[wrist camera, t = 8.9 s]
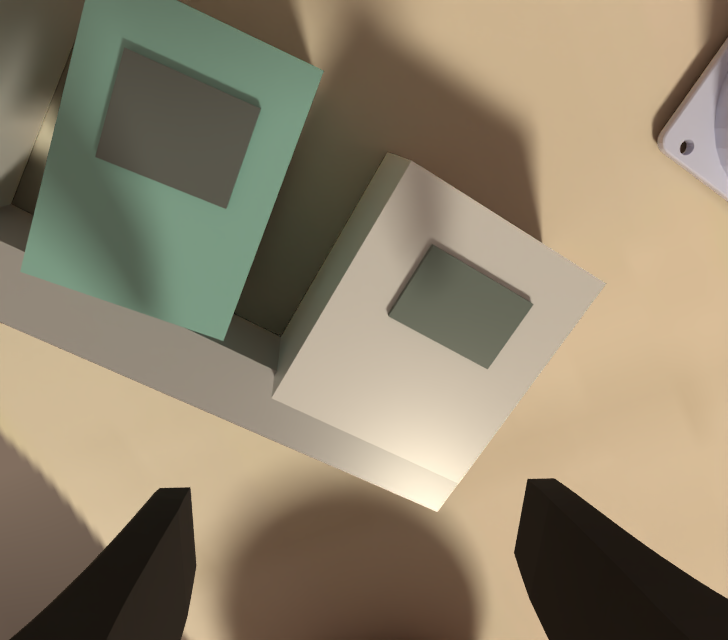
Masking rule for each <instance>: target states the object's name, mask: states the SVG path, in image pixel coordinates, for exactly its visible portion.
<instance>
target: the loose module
mask: <svg viewBox="0 0 728 640" xmlns="http://www.w3.org/2000/svg"><path fill="white" fill-rule="evenodd" d="M323 72H324V71H323V70H321V69H319V68H317V67H315V66H313V65H311V64H309V63H307V62H304V61H302V60H300V59H298V58H296V57H294V56H292V55H290V54H288V53H286V52H284V51H282V50H279V49H277V48H275V47H273V46H271V45H269V44H267V43H265V42H263V41H261V40H259V39H256V38H254V37H252V36H250V35H248V34H246V33H244V32H242V31H240V30H238V29H236V28H234V27H231V26H229V25H227V24H225V23H223V22H221V21H219V20H217V19H215V18H213V17H211V16H209V15H206V14H204V13H202V12H200V11H198V10H196V9H194V8H192V7H190V6H188V5H186V4H183V3H181V2H179V1H177V0H85V3H84V7H83V11H82V15H81V19H80V24H79V28H78V32H77V36H76V40H75V44H74V49H73V53H72V57H71V61H70V65H69V70H68V74H67V78H66V82H65V86H64V90H63V95H62V99H61V103H60V107H59V111H58V116H57V120H56V124H55V128H54V132H53V136H52V141H51V145H50V149H49V153H48V157H47V162H46V166H45V170H44V174H43V178H42V182H41V187H40V191H39V195H38V199H37V203H36V208H35V212H34V216H33V220H32V224H31V228H30V233H29V237H28V241H27V245H26V249H25V254H24V258H23V262H22V266H21V270H20V272H22V273H25V274H28V275H31V276H34V277H37V278H40V279H43V280H46V281H49V282H52V283H54V284H57V285H60V286H63V287H66V288H69V289H72V290H75V291H78V292H81V293H84V294H87V295H90V296H93V297H96V298H99V299H101V300H104V301H107V302H110V303H113V304H116V305H119V306H122V307H125V308H128V309H131V310H134V311H137V312H140V313H143V314H146V315H149V316H151V317H154V318H157V319H160V320H163V321H166V322H169V323H172V324H175V325H178V326H181V327H184V328H187V329H190V330H193V331H196V332H198V333H201V334H204V335H207V336H210V337H213V338H216V339H219V340H222V341H224V338H225V335H226V332H227V330H228V327H229V324H230V322H231V319H232V316H233V314H234V311H235V308H236V306H237V303H238V300H239V298H240V295H241V292H242V290H243V287H244V284H245V282H246V279H247V276H248V273H249V271H250V268H251V265H252V263H253V260H254V257H255V255H256V252H257V249H258V247H259V244H260V241H261V239H262V236H263V233H264V231H265V228H266V225H267V222H268V220H269V217H270V214H271V212H272V209H273V206H274V204H275V201H276V198H277V196H278V193H279V190H280V188H281V185H282V182H283V179H284V177H285V174H286V171H287V169H288V166H289V163H290V161H291V158H292V155H293V153H294V150H295V147H296V145H297V142H298V139H299V136H300V134H301V131H302V128H303V126H304V123H305V120H306V118H307V115H308V112H309V110H310V107H311V104H312V102H313V99H314V96H315V93H316V91H317V88H318V85H319V83H320V80H321V77H322V75H323Z"/></svg>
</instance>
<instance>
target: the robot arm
mask: <svg viewBox="0 0 728 640" xmlns="http://www.w3.org/2000/svg"><path fill="white" fill-rule="evenodd" d="M684 141H686V143H687V148H686V150H685V151H684V152H683V153H681V152H680V146H681V144H682V143H683V142H684ZM657 144H658V148H659V150H660V151H661V152H662V153H663V154H665V155H666V156H667V157H669V158H670V159H671V160H673V161H674V162H675V163H677V164H678V165H680V166H681V167H682V168H684V169H685V170H686V171H688V172H689V173H690V174H692V175H693V176H694V177H696V178H697V179H698V180H700V181H701V182H702V183H704V184H705V185H706V186H708V187H709V188H710V189H712V190H713V191H714V192H716V193H717V194H718V195H720V196H721V197H722V198H724V199H725V200H726V201H728V38H727V39H726V41H725V42H724V43H723V45H722V46H721V48H720V49H719V50H718V52H717V53H716V55H715V56H714V58H713V59H712V60H711V62H710V63H709V65H708V66H707V67H706V69H705V70H704V72H703V73H702V74H701V76H700V77H699V79H698V80H697V81H696V83H695V84H694V86H693V87H692V89H691V90H690V91H689V93H688V94H687V96H686V97H685V98H684V100H683V101H682V103H681V104H680V105H679V107H678V108H677V110H676V111H675V112H674V114H673V115H672V117H671V118H670V120H669V121H668V122H667V124H666V125H665V127H664V128H663V129H662V131H661V132H660V134H659V136H658V141H657ZM514 554H515V557H516V560H517V563H518V567H519V570H520V573H521V576H522V579H523V582H524V584H525V587H526V590H527V593H528V596H529V599H530V601H531V603H532V605H533V607H534V609H535V612H536V614H537V616H538V618H539V620H540V622H541V624H542V626H543V628H544V631H545V633H546V635H547V637H548V639H549V640H728V599H727V598H726V597H724V596H722V595H720V594H719V593H717V592H715V591H714V590H712V589H710V588H709V587H707V586H706V585H704V584H702V583H701V582H699V581H698V580H696V579H694V578H693V577H691V576H690V575H688V574H687V573H685V572H684V571H682V570H681V569H679V568H678V567H676V566H675V565H673V564H672V563H670V562H669V561H667V560H666V559H664V558H663V557H661V556H660V555H659V554H657V553H656V552H654V551H653V550H651V549H650V548H649V547H647V546H646V545H644V544H643V543H642V542H640V541H639V540H637V539H636V538H635V537H633V536H632V535H630V534H629V533H628V532H626V531H625V530H624V529H622V528H621V527H620V526H618V525H617V524H616V523H614V522H613V521H612V520H610V519H609V518H607V517H606V516H605V515H604V514H602V513H601V512H600V511H598V510H597V509H596V508H594V507H593V506H592V505H590V504H589V503H588V502H586V501H585V500H584V499H582V498H581V497H580V496H578V495H577V494H576V493H574V492H573V491H571V490H570V489H569V488H567V487H566V486H565V485H563V484H562V483H560V482H559V481H557V480H556V479H554V478H551V479H528V480H527V485H526V491H525V496H524V501H523V507H522V512H521V518H520V523H519V529H518V534H517V540H516V545H515V551H514ZM195 571H196V555H195V542H194V529H193V516H192V502H191V489H190V487H189V488H159V489H158V490H157V491H156V492H155V493H154V494H153V495H152V496H151V497H150V499H149V500H148V501H147V502H146V503H145V504H144V506H143V507H142V508H141V509H140V510H139V511H138V513H137V514H136V515H135V516H134V517H133V518H132V519H131V521H130V522H129V523H128V524H127V525H126V526H125V527H124V528H123V529H122V531H121V532H120V533H119V534H118V535H117V536H116V537H115V538H114V539H113V540H112V542H111V543H110V544H109V545H108V546H107V547H106V548H105V549H104V550H103V551H102V552H101V553H100V554H99V555H98V556H97V558H96V559H95V560H94V561H93V562H92V563H91V564H90V565H89V566H88V567H87V568H86V569H85V570H84V571H83V572H82V573H81V574H80V575H79V576H78V577H77V578H76V579H75V580H74V581H73V582H72V583H71V584H70V585H69V586H68V587H67V588H66V589H65V590H64V591H63V592H62V593H61V594H59V595H58V596H57V598H56V599H54V600H53V602H51V603H50V604H49V605H48V606H47V607H46V608H45V609H44V610H43V611H42V612H41V613H39V614H38V615H37V616H36V617H35V618H34V619H33V620H32V621H31V622H29V623H28V624H27V625H26V626H25V627H24V628H22V629H21V630H20V631H19V632H18V633H17V634H16V635H14V636H13V637H12V638H11V639H10V640H181V637H182V634H183V630H184V627H185V623H186V620H187V616H188V610H189V605H190V600H191V594H192V588H193V583H194V577H195Z"/></svg>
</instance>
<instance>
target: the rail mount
mask: <svg viewBox="0 0 728 640" xmlns="http://www.w3.org/2000/svg"><path fill="white" fill-rule="evenodd" d="M84 3H85V0H0V322H1V323H3V324H5V325H7V326H10V327H12V328H14V329H17V330H19V331H21V332H24V333H26V334H28V335H31V336H33V337H35V338H37V339H40V340H42V341H44V342H47V343H49V344H51V345H54V346H56V347H58V348H60V349H63V350H65V351H67V352H70V353H72V354H74V355H77V356H79V357H81V358H84V359H86V360H88V361H90V362H93V363H95V364H97V365H100V366H102V367H104V368H107V369H109V370H111V371H114V372H116V373H118V374H120V375H123V376H125V377H127V378H130V379H132V380H134V381H137V382H139V383H141V384H143V385H146V386H148V387H150V388H153V389H155V390H157V391H160V392H162V393H164V394H167V395H169V396H171V397H173V398H176V399H178V400H180V401H183V402H185V403H187V404H190V405H192V406H194V407H197V408H199V409H201V410H203V411H206V412H208V413H210V414H213V415H215V416H217V417H220V418H222V419H224V420H227V421H229V422H231V423H233V424H236V425H238V426H240V427H243V428H245V429H247V430H250V431H252V432H254V433H256V434H259V435H261V436H263V437H266V438H268V439H270V440H273V441H275V442H277V443H280V444H282V445H284V446H286V447H289V448H291V449H293V450H296V451H298V452H300V453H303V454H305V455H307V456H310V457H312V458H314V459H316V460H319V461H321V462H323V463H326V464H328V465H330V466H333V467H335V468H337V469H340V470H342V471H344V472H346V473H349V474H351V475H353V476H356V477H358V478H360V479H363V480H365V481H367V482H369V483H372V484H374V485H376V486H379V487H381V488H383V489H386V490H388V491H390V492H393V493H395V494H397V495H399V496H402V497H404V498H406V499H409V500H411V501H413V502H416V503H418V504H420V505H423V506H425V507H427V508H429V509H432V510H434V511H436V512H438V510H439V509H440V507H441V506H442V505H443V503H444V502H445V501H446V499H447V498H448V497H449V495H450V494H451V493H452V491H453V490H454V489H455V487H456V486H457V484H459V482H460V481H461V480H462V478H463V477H464V476H465V474H466V473H467V472H468V470H469V469H470V468H471V466H472V465H473V464H474V462H475V461H476V459H477V458H478V457H479V455H480V454H481V453H482V451H483V450H484V449H485V447H486V446H487V445H488V443H489V442H490V441H491V439H492V438H493V436H494V435H495V434H496V432H497V431H498V430H499V428H500V427H501V426H502V424H503V423H504V422H505V420H506V419H507V418H508V416H509V415H510V413H511V412H512V411H513V409H514V408H515V407H516V405H517V404H518V403H519V401H520V400H521V399H522V397H523V396H524V395H525V393H526V392H527V390H528V389H529V388H530V386H531V385H532V384H533V382H534V381H535V380H536V378H537V377H538V376H539V374H540V373H541V371H542V370H543V369H544V367H545V366H546V365H547V363H548V362H549V361H550V359H551V358H552V357H553V355H554V354H555V353H556V351H557V350H558V348H559V347H560V346H561V344H562V343H563V342H564V340H565V339H566V338H567V336H568V335H569V334H570V332H571V331H572V330H573V328H574V327H575V325H576V324H577V323H578V321H579V320H580V319H581V317H582V316H583V315H584V313H585V312H586V311H587V309H588V308H589V307H590V305H591V304H592V302H593V301H594V300H595V298H596V297H597V296H598V294H599V293H600V292H601V290H602V289H603V288H604V286H605V285H606V283H604V282H603V281H601V280H600V279H598V278H597V277H595V276H593V275H592V274H590V273H589V272H587V271H585V270H584V269H582V268H581V267H579V266H578V265H576V264H574V263H573V262H571V261H570V260H568V259H567V258H565V257H563V256H562V255H560V254H559V253H557V252H555V251H554V250H552V249H551V248H549V247H548V246H546V245H544V244H543V243H541V242H540V241H538V240H536V239H535V238H533V237H532V236H530V235H529V234H527V233H525V232H524V231H522V230H521V229H519V228H518V227H516V226H514V225H513V224H511V223H510V222H508V221H506V220H505V219H503V218H502V217H500V216H499V215H497V214H495V213H494V212H492V211H491V210H489V209H488V208H486V207H484V206H483V205H481V204H480V203H478V202H476V201H475V200H473V199H472V198H470V197H469V196H467V195H465V194H464V193H462V192H461V191H459V190H458V189H456V188H454V187H453V186H451V185H450V184H448V183H446V182H445V181H443V180H442V179H440V178H439V177H437V176H435V175H434V174H432V173H431V172H429V171H428V170H426V169H424V168H423V167H421V166H420V165H418V164H416V163H415V162H413V161H412V160H409V159H406V158H403V157H400V156H398V155H395V154H392V153H389V152H387V154H386V155H385V157H384V159H383V161H382V162H381V164H380V166H379V167H378V169H377V171H376V173H375V174H374V176H373V178H372V180H371V181H370V183H369V185H368V187H367V188H366V190H365V192H364V194H363V195H362V197H361V199H360V200H359V202H358V204H357V206H356V207H355V209H354V211H353V213H352V214H351V216H350V218H349V220H348V221H347V223H346V225H345V227H344V228H343V230H342V232H341V233H340V235H339V237H338V239H337V240H336V242H335V244H334V246H333V247H332V249H331V251H330V253H329V254H328V256H327V258H326V260H325V261H324V263H323V265H322V267H321V268H320V270H319V272H318V273H317V275H316V277H315V279H314V280H313V282H312V284H311V286H310V287H309V289H308V291H307V293H306V294H305V296H304V298H303V300H302V301H301V303H300V305H299V306H298V308H297V310H296V312H295V313H294V315H293V317H292V319H291V320H290V322H289V324H288V326H287V327H286V329H285V331H284V333H283V334H282V336H281V337H280V336H278V335H276V334H274V333H272V332H270V331H268V330H266V329H264V328H261V327H259V326H257V325H255V324H253V323H251V322H249V321H247V320H245V319H243V318H241V317H239V316H237V315H235V314H233V316H232V319H231V322H230V324H229V327H228V330H227V332H226V335H225V338H224V341H222V340H219V339H216V338H213V337H210V336H207V335H204V334H201V333H198V332H196V331H193V330H190V329H187V328H184V327H181V326H178V325H175V324H172V323H169V322H166V321H163V320H160V319H157V318H154V317H151V316H149V315H146V314H143V313H140V312H137V311H134V310H131V309H128V308H125V307H122V306H119V305H116V304H113V303H110V302H107V301H104V300H101V299H99V298H96V297H93V296H90V295H87V294H84V293H81V292H78V291H75V290H72V289H69V288H66V287H63V286H60V285H57V284H54V283H52V282H49V281H46V280H43V279H40V278H37V277H34V276H31V275H28V274H25V273H22V272H20V270H21V266H22V262H23V258H24V254H25V249H26V245H27V241H28V237H29V233H30V228H31V224H32V220H33V216H34V215H32V214H30V213H28V212H26V211H24V210H22V209H20V208H18V207H16V206H13V205H11V202H12V200H13V197H14V195H15V192H16V189H17V187H18V184H19V182H20V179H21V177H22V174H23V172H24V169H25V166H26V164H27V161H28V159H29V156H30V154H31V151H32V149H33V146H34V143H35V141H36V138H37V136H38V133H39V131H40V128H41V126H42V123H43V120H44V118H45V115H46V113H47V110H48V108H49V105H50V103H51V100H52V97H53V95H54V92H55V90H56V87H57V85H58V82H59V80H60V77H61V74H62V72H63V69H64V67H65V64H66V62H67V59H68V57H69V54H70V52H71V49H72V46H73V44H74V41H75V39H76V36H77V32H78V28H79V24H80V19H81V15H82V11H83V7H84Z"/></svg>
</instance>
